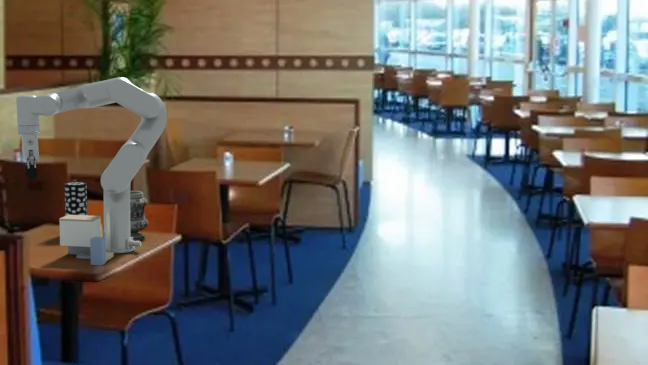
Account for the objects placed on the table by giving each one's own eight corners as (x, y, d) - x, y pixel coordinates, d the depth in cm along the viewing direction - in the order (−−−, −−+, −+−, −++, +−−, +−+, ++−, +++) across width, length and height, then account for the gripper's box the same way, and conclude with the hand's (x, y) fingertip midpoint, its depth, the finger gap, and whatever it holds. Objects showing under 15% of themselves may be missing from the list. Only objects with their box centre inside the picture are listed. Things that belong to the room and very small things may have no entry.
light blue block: (115, 256, 347) (115, 231, 346) (101, 265, 334) (101, 239, 333) (104, 256, 348) (104, 231, 346) (90, 264, 334) (90, 238, 333)
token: (95, 257, 348) (95, 253, 348) (90, 260, 343) (90, 256, 343) (81, 256, 349) (81, 252, 349) (76, 259, 344) (76, 255, 344)
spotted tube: (89, 231, 391) (88, 182, 388) (85, 235, 383) (84, 185, 380) (68, 231, 391) (67, 182, 388) (63, 235, 382) (62, 185, 380)
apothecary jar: (127, 233, 388) (127, 188, 386) (154, 236, 384) (153, 191, 382) (110, 239, 377) (110, 193, 375) (138, 242, 373) (137, 195, 370)
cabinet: (101, 254, 350) (101, 215, 348) (93, 259, 342) (92, 220, 340) (69, 253, 352) (68, 214, 350) (59, 258, 344) (59, 218, 342)
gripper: (41, 131, 341) (44, 180, 344) (37, 127, 357) (40, 174, 360) (19, 132, 339) (22, 181, 341) (16, 128, 355) (18, 175, 357)
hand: (31, 177), depth 350 cm, fingers open, 9 cm apart
